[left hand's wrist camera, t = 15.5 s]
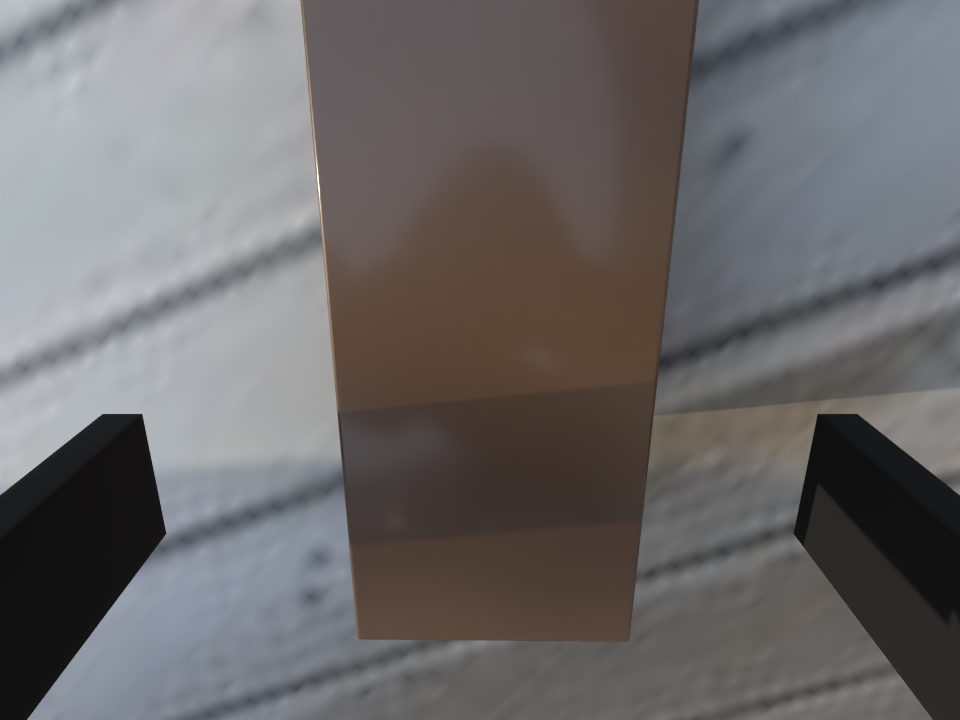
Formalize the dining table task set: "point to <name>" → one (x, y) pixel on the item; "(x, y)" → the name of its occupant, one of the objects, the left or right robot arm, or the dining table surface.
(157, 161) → the dining table surface
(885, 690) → the dining table surface
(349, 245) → the bar
